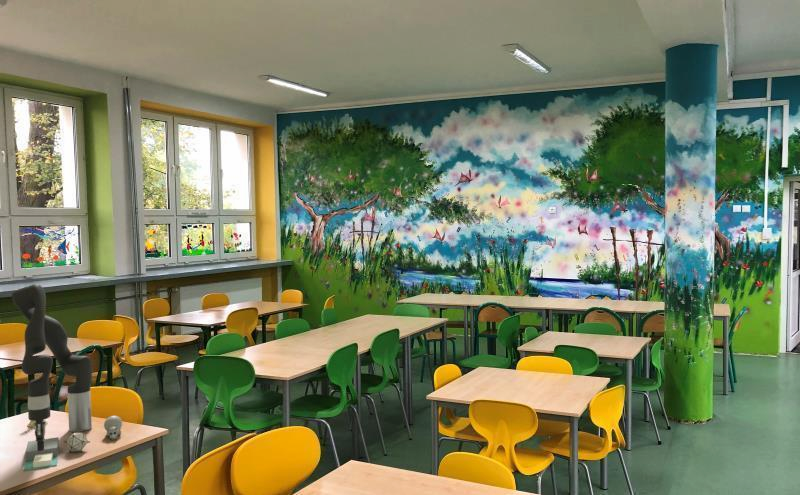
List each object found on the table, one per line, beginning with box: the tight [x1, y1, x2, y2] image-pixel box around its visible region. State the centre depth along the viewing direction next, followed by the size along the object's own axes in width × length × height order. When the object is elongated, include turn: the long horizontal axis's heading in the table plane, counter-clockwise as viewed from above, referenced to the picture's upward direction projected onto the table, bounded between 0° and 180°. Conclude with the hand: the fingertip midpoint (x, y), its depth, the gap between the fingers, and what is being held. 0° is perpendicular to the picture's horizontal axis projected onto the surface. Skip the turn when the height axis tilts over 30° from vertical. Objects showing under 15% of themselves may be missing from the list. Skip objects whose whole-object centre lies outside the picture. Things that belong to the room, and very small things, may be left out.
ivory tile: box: [33, 452, 53, 468], centre depth 254 cm, size 6×9×2 cm, turn 24°
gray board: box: [24, 436, 60, 462], centre depth 264 cm, size 11×14×4 cm
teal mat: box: [23, 457, 58, 472], centre depth 253 cm, size 11×10×1 cm
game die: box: [63, 430, 91, 454], centre depth 266 cm, size 9×8×10 cm
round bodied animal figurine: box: [103, 415, 123, 441], centre depth 284 cm, size 7×12×8 cm, turn 21°
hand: (40, 450), depth 256 cm, fingers closed
